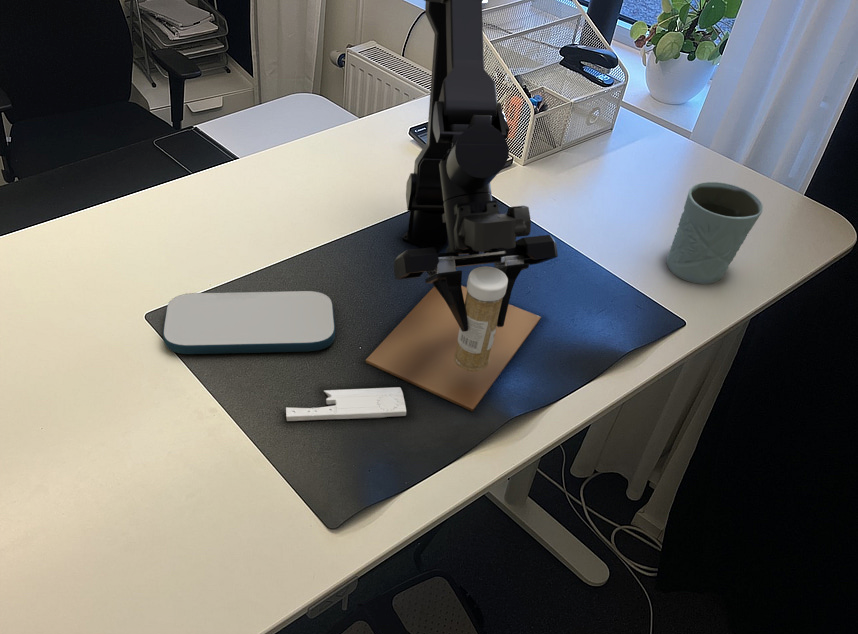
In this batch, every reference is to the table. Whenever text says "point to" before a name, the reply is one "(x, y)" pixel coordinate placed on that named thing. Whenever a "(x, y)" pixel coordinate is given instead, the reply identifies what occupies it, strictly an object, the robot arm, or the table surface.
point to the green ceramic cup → (712, 231)
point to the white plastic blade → (354, 405)
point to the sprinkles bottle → (480, 317)
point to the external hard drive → (249, 322)
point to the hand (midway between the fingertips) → (482, 329)
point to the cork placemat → (447, 350)
